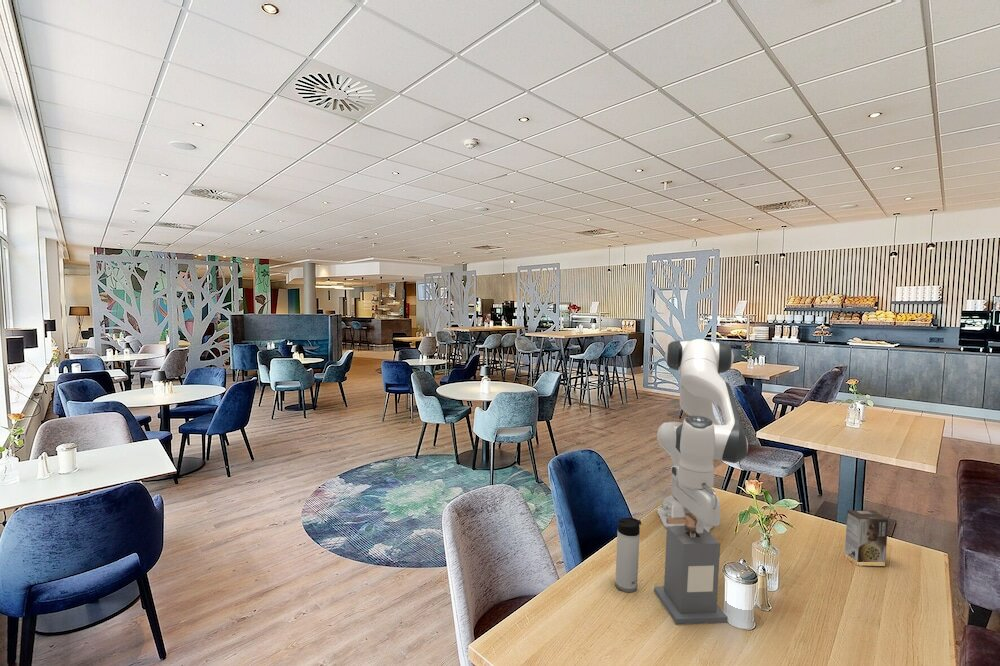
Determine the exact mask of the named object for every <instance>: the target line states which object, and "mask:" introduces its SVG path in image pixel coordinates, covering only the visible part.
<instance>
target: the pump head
mask: <svg viewBox="0 0 1000 666" xmlns="http://www.w3.org/2000/svg"><path fill="white" fill-rule="evenodd" d="M696 518H697V517H696V516H695V515H694V514H692V513H687V514H685V517H676V518H666V522H667V523H668V524H685V526H684V529H685V530H686V531H688V532H690V537H695V536H696V534H698V533H697V532H696V531H695V530H694V528H695V527H694V524H697V520H696Z"/></svg>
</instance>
